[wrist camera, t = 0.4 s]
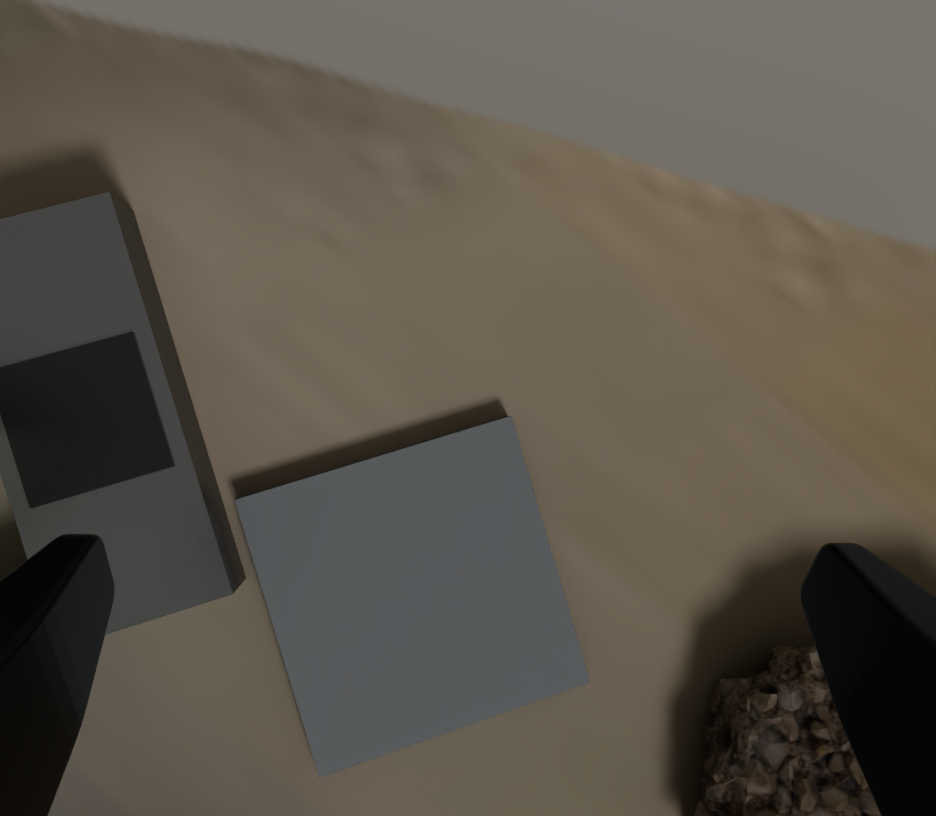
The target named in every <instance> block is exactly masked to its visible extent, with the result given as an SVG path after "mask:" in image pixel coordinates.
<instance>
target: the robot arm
mask: <svg viewBox="0 0 936 816" xmlns="http://www.w3.org/2000/svg"><path fill="white" fill-rule="evenodd" d="M114 592H115V587H114V580H113V576H112V572H111V568H110V565H109V561H108V557H107V553H106V550H105V546H104V543H103V541H102V539H101V538H100V537H99V536H98V535H95V534H63V535H61V536H58V537H57V538H55V539H54V540H52V541H51V542H50V543H48V544H47V545H46V546H45V547H43V548H42V549H41V550H39V551H38V552H37V553H35V554H34V555H33V556H31V557H30V558H29V559H28V560H26V561H25V562H24V563H22V564H21V565H20V566H18V567H17V568H16V569H15V570H13V571H12V572H11V573H9V574H8V575H7V576H5V577H4V578H3V579H2V580H0V816H48V813H49V810H50V808H51V805H52V803H53V800H54V797H55V795H56V792H57V789H58V787H59V784H60V782H61V779H62V776H63V774H64V771H65V768H66V766H67V763H68V761H69V758H70V755H71V753H72V750H73V747H74V745H75V742H76V739H77V736H78V733H79V730H80V727H81V724H82V721H83V717H84V714H85V710H86V707H87V703H88V699H89V695H90V691H91V687H92V683H93V680H94V676H95V672H96V668H97V664H98V660H99V656H100V652H101V648H102V644H103V640H104V636H105V633H106V629H107V625H108V621H109V617H110V613H111V609H112V605H113V601H114ZM800 596H801V603H802V607H803V610H804V613H805V616H806V619H807V623H808V626H809V629H810V632H811V635H812V638H813V641H814V644H815V648H816V651H817V654H818V657H819V660H820V663H821V666H822V669H823V673H824V676H825V679H826V682H827V685H828V688H829V691H830V694H831V697H832V700H833V703H834V706H835V708H836V711H837V714H838V716H839V719H840V721H841V724H842V726H843V729H844V731H845V734H846V736H847V738H848V740H849V743H850V745H851V747H852V750H853V752H854V754H855V757H856V759H857V761H858V763H859V766H860V768H861V770H862V773H863V775H864V777H865V780H866V782H867V784H868V786H869V789H870V791H871V793H872V796H873V798H874V800H875V803H876V805H877V807H878V810H879V812H880V814H881V816H936V596H935V595H933V594H932V593H930V592H929V591H927V590H926V589H924V588H923V587H921V586H920V585H918V584H917V583H915V582H914V581H912V580H911V579H909V578H908V577H907V576H905V575H904V574H902V573H901V572H899V571H898V570H896V569H895V568H893V567H892V566H890V565H889V564H887V563H886V562H884V561H883V560H881V559H880V558H878V557H877V556H875V555H874V554H873V553H871V552H870V551H868V550H867V549H865V548H864V547H862V546H860V545H858V544H854V543H828V544H825V545H824V546H823V547H821V549H820V550H819V552H818V554H817V556H816V558H815V560H814V562H813V564H812V565H811V567H810V569H809V571H808V573H807V575H806V577H805V579H804V581H803V583H802V586H801V595H800Z"/></svg>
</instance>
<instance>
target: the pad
mask: <svg viewBox="0 0 936 816" xmlns="http://www.w3.org/2000/svg"><path fill="white" fill-rule="evenodd" d="M235 503H236V506H237V510H238V513H239V516H240V520H241V523H242V526H243V529H244V533H245V536H246V539H247V542H248V546H249V549H250V552H251V555H252V559H253V562H254V565H255V569H256V572H257V575H258V578H259V582H260V585H261V588H262V591H263V595H264V598H265V601H266V604H267V608H268V611H269V614H270V618H271V621H272V624H273V627H274V631H275V634H276V637H277V640H278V644H279V647H280V650H281V653H282V657H283V660H284V663H285V667H286V670H287V673H288V676H289V680H290V683H291V686H292V689H293V693H294V696H295V699H296V702H297V706H298V709H299V712H300V716H301V719H302V722H303V725H304V729H305V732H306V735H307V738H308V742H309V745H310V748H311V751H312V755H313V758H314V761H315V765H316V768H317V771H318V774H319V778H320V777H323V776H326V775H328V774H331V773H334V772H337V771H340V770H343V769H345V768H348V767H351V766H354V765H357V764H359V763H362V762H365V761H368V760H371V759H374V758H376V757H379V756H382V755H385V754H388V753H391V752H393V751H396V750H399V749H402V748H405V747H408V746H410V745H413V744H416V743H419V742H422V741H424V740H427V739H430V738H433V737H436V736H439V735H441V734H444V733H447V732H450V731H453V730H456V729H458V728H461V727H464V726H467V725H470V724H472V723H475V722H478V721H481V720H484V719H487V718H489V717H492V716H495V715H498V714H501V713H504V712H506V711H509V710H512V709H515V708H518V707H520V706H523V705H526V704H529V703H532V702H535V701H537V700H540V699H543V698H546V697H549V696H552V695H554V694H557V693H560V692H563V691H566V690H569V689H571V688H574V687H577V686H580V685H583V684H585V683H588V682H590V680H589V676H588V673H587V670H586V666H585V663H584V659H583V656H582V653H581V649H580V646H579V643H578V639H577V636H576V633H575V629H574V626H573V622H572V619H571V616H570V612H569V609H568V606H567V602H566V599H565V595H564V592H563V589H562V585H561V582H560V579H559V575H558V572H557V568H556V565H555V562H554V558H553V555H552V552H551V548H550V545H549V542H548V538H547V535H546V531H545V528H544V525H543V521H542V518H541V515H540V511H539V508H538V504H537V501H536V498H535V494H534V491H533V488H532V484H531V481H530V477H529V474H528V471H527V467H526V464H525V461H524V457H523V454H522V451H521V447H520V444H519V440H518V437H517V434H516V430H515V427H514V424H513V420H512V417H511V416H506V417H503V418H500V419H497V420H493V421H490V422H487V423H483V424H480V425H477V426H474V427H470V428H467V429H464V430H460V431H457V432H454V433H451V434H447V435H444V436H441V437H437V438H434V439H431V440H428V441H424V442H421V443H418V444H414V445H411V446H408V447H405V448H401V449H398V450H395V451H391V452H388V453H385V454H381V455H378V456H375V457H372V458H368V459H365V460H362V461H358V462H355V463H352V464H349V465H345V466H342V467H339V468H335V469H332V470H329V471H326V472H322V473H319V474H316V475H312V476H309V477H306V478H303V479H299V480H296V481H293V482H289V483H286V484H283V485H280V486H276V487H273V488H270V489H266V490H263V491H260V492H257V493H253V494H250V495H247V496H243V497H240V498H238V499H236V500H235Z"/></svg>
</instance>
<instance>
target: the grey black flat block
mask: <svg viewBox="0 0 936 816" xmlns="http://www.w3.org/2000/svg"><path fill="white" fill-rule="evenodd" d="M0 473H1V476H2V480H3V483H4V486H5V489H6V492H7V495H8V499H9V502H10V505H11V508H12V511H13V515H14V518H15V521H16V524H17V527H18V531H19V534H20V537H21V540H22V543H23V547H24V550H25V553H26V556H27V559H29V558H30V557H31V556H33V555H34V554H35V553H37V552H38V551H39V550H41V549H42V548H43V547H45V546H46V545H47V544H48V543H50V542H51V541H52V540H54V539H55V538H57V537H58V536H61V535H63V534H95V535H98V536H99V537H100V538H101V539H102V541H103V543H104V546H105V550H106V553H107V557H108V561H109V565H110V568H111V572H112V576H113V580H114V587H115V592H114V601H113V605H112V609H111V613H110V617H109V621H108V625H107V629H106V633H105V635H106V634H109V633H112V632H115V631H118V630H122V629H125V628H128V627H131V626H134V625H137V624H140V623H143V622H147V621H150V620H153V619H156V618H159V617H162V616H165V615H169V614H172V613H175V612H178V611H181V610H184V609H187V608H190V607H194V606H197V605H200V604H203V603H206V602H209V601H212V600H216V599H219V598H222V597H225V596H228V595H231V594H233V593H234V592H235V591H236V590H237V588H238V587H239V586H240V585H241V584H242V583H243V581H244V580H245V579H246V577H245V574H244V570H243V567H242V564H241V561H240V557H239V554H238V551H237V547H236V544H235V541H234V538H233V534H232V531H231V528H230V525H229V521H228V518H227V515H226V512H225V508H224V505H223V502H222V499H221V495H220V492H219V489H218V485H217V482H216V479H215V476H214V472H213V469H212V466H211V463H210V459H209V456H208V453H207V450H206V446H205V443H204V440H203V437H202V433H201V430H200V427H199V423H198V420H197V417H196V414H195V410H194V407H193V404H192V401H191V397H190V394H189V391H188V388H187V384H186V381H185V378H184V375H183V371H182V368H181V365H180V362H179V358H178V355H177V352H176V348H175V345H174V342H173V339H172V335H171V332H170V329H169V326H168V322H167V319H166V316H165V313H164V309H163V306H162V303H161V300H160V296H159V293H158V290H157V286H156V283H155V280H154V277H153V273H152V270H151V267H150V264H149V260H148V257H147V254H146V251H145V247H144V244H143V241H142V238H141V234H140V231H139V228H138V225H137V221H136V218H135V215H134V212H133V211H132V210H131V209H130V208H128V207H127V206H126V205H125V204H124V203H122V202H121V201H120V200H119V199H117V198H116V197H115V196H114V195H113V194H111V193H110V192H106V193H102V194H98V195H94V196H90V197H86V198H82V199H78V200H74V201H70V202H66V203H62V204H58V205H54V206H50V207H46V208H42V209H38V210H34V211H30V212H26V213H22V214H18V215H14V216H10V217H6V218H2V219H0Z"/></svg>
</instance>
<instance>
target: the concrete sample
mask: <svg viewBox="0 0 936 816" xmlns="http://www.w3.org/2000/svg"><path fill="white" fill-rule="evenodd" d="M770 651H771V656H772V660H771V661H770V662H769V663H768V669H769V670H767V671H765V672H762V673H761V674H757V675H755V676H752V677H750V678H733V679H721V680H720V682H719V683H718V685H717V686H716V688H715V690H714V691H713V693H712V697H711V703H710V710H711V711H712V713H713V716H712V718H711V721H710V722H709V723H708V724H707V725H706V726H705V727H704V728H703V737H704V739H705V741H706V743H707V745H708V748H709V750H708V754H707V760H706V761H705V762H704V763H703V775H702V778H701V780H700V782H699V785H700V801H699V802H698V805H697V808H696V811H695V815H694V816H881V814H880V812H879V810H878V807H877V805H876V803H875V800H874V798H873V796H872V793H871V791H870V789H869V786H868V784H867V782H866V780H865V777H864V775H863V773H862V770H861V768H860V766H859V763H858V761H857V759H856V757H855V754H854V752H853V750H852V747H851V745H850V743H849V740H848V738H847V736H846V734H845V731H844V729H843V726H842V724H841V721H840V719H839V716H838V714H837V711H836V708H835V706H834V703H833V700H832V697H831V694H830V691H829V688H828V685H827V682H826V679H825V676H824V673H823V669H822V666H821V663H820V660H819V657H818V654H817V651H816V648H815V645H813V646H808V647H798V648H796V647H794V646H781V645H777V646H776V647H774V648H773V649H772V650H770Z"/></svg>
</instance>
